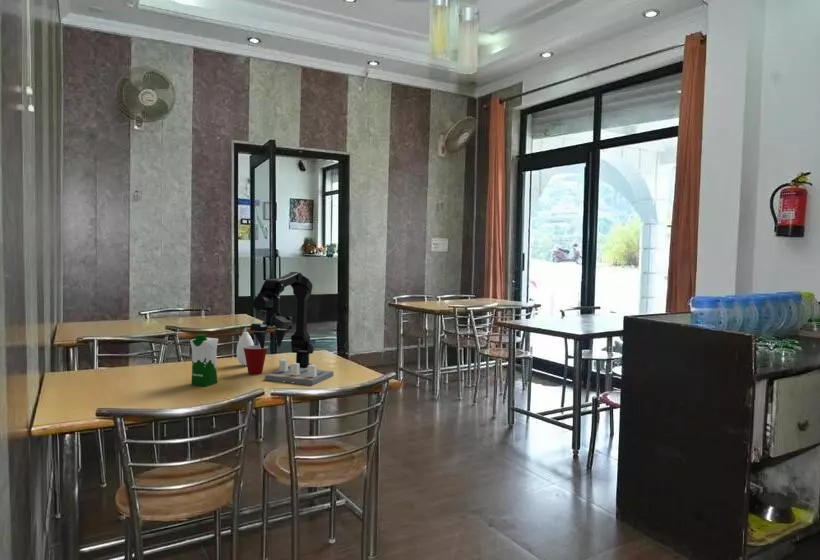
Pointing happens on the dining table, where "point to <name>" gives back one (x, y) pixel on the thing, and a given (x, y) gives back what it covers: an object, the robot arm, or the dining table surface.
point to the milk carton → (204, 360)
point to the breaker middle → (295, 369)
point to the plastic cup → (255, 358)
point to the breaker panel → (299, 376)
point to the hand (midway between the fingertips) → (270, 347)
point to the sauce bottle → (243, 341)
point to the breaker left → (312, 371)
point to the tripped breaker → (283, 365)
